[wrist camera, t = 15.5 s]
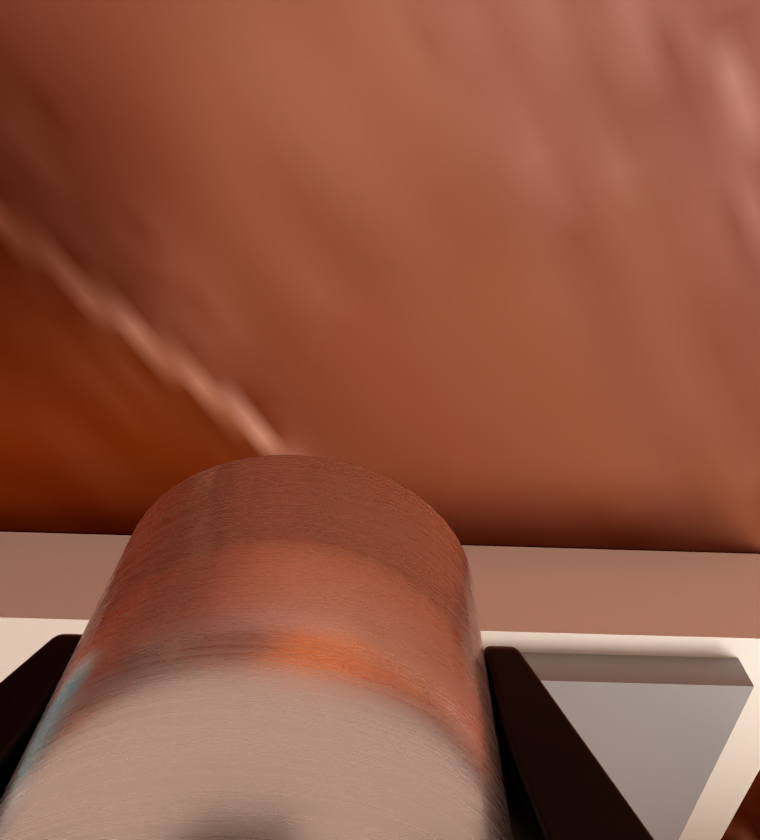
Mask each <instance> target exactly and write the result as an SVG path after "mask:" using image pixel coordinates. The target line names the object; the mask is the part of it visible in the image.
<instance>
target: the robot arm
mask: <svg viewBox="0 0 760 840" xmlns="http://www.w3.org/2000/svg"><path fill="white" fill-rule="evenodd" d="M81 636H82V634H60V635H57V636H55V637H53V638H52V639H51V640H50V641H48V642H47V643H46V644H45V645H44V646H43V647H41V648H40V649H39V650H38V651H37V652H36V653H34V654H33V655H32V656H31V657H30V658H29V659H27V660H26V661H25V662H24V663H23V664H21V665H20V666H19V667H18V668H17V669H16V670H14V671H13V672H12V673H11V674H10V675H9V676H7V677H6V678H5V679H4V680H3V681H2V682H0V800H1V798H2V796H3V794H4V792H5V789H6V787H7V785H8V783H9V781H10V779H11V777H12V775H13V773H14V771H15V769H16V767H17V765H18V763H19V761H20V759H21V757H22V755H23V753H24V751H25V749H26V747H27V745H28V743H29V741H30V739H31V737H32V735H33V733H34V731H35V729H36V727H37V725H38V723H39V721H40V719H41V717H42V715H43V713H44V711H45V709H46V707H47V705H48V703H49V701H50V699H51V697H52V695H53V693H54V691H55V689H56V687H57V685H58V683H59V681H60V679H61V677H62V675H63V673H64V671H65V669H66V667H67V665H68V663H69V661H70V659H71V657H72V655H73V652H74V650H75V648H76V646H77V644H78V642H79V640H80V638H81ZM484 658H485V664H486V670H487V677H488V683H489V689H490V696H491V702H492V708H493V715H494V721H495V727H496V734H497V740H498V746H499V753H500V759H501V765H502V772H503V778H504V784H505V791H506V797H507V803H508V810H509V816H510V822H511V829H512V835H513V840H654V838H653V837H652V836H651V834H650V833H649V831H648V830H647V829H646V827H645V826H644V824H643V823H642V822H641V820H640V819H639V817H638V816H637V815H636V813H635V812H634V811H633V809H632V808H631V806H630V805H629V804H628V802H627V801H626V799H625V798H624V797H623V795H622V794H621V792H620V791H619V790H618V788H617V787H616V785H615V784H614V783H613V781H612V780H611V778H610V777H609V776H608V774H607V773H606V771H605V770H604V769H603V767H602V766H601V764H600V763H599V762H598V760H597V759H596V757H595V756H594V755H593V753H592V752H591V750H590V749H589V748H588V746H587V745H586V744H585V742H584V741H583V739H582V738H581V737H580V735H579V734H578V732H577V731H576V730H575V728H574V727H573V725H572V724H571V723H570V721H569V720H568V718H567V717H566V716H565V714H564V713H563V711H562V710H561V709H560V707H559V706H558V704H557V703H556V702H555V700H554V699H553V697H552V696H551V695H550V693H549V692H548V690H547V689H546V688H545V686H544V685H543V683H542V682H541V681H540V679H539V678H538V676H537V675H536V674H535V672H534V671H533V670H532V668H531V667H530V665H529V664H528V663H527V661H526V660H525V658H524V657H523V656H522V654H521V653H520V652H519V650H518V649H516V648H514V647H511V646H488V647H486V648H485V649H484Z"/></svg>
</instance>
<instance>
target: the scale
mask: <svg viewBox="0 0 760 840" xmlns="http://www.w3.org/2000/svg"><path fill="white" fill-rule="evenodd" d="M131 536H132V535H98V534H64V533H30V532H0V682H2V681H3V680H4V679H5V678H6V677H7V676H9V675H10V674H11V673H12V672H13V671H14V670H16V669H17V668H18V667H19V666H20V665H21V664H23V663H24V662H25V661H26V660H27V659H29V658H30V657H31V656H32V655H33V654H34V653H36V652H37V651H38V650H39V649H40V648H41V647H43V646H44V645H45V644H46V643H47V642H48V641H50V640H51V639H52V638H53V637H55V636H57V635H60V634H83V632H84V630H85V628H86V626H87V624H88V622H89V620H90V618H91V616H92V614H93V612H94V610H95V608H96V606H97V604H98V602H99V600H100V598H101V596H102V594H103V592H104V590H105V588H106V586H107V584H108V582H109V580H110V578H111V576H112V574H113V572H114V570H115V568H116V566H117V564H118V562H119V560H120V558H121V556H122V554H123V552H124V550H125V548H126V546H127V544H128V542H129V540H130V538H131ZM461 546H462V548H463V550H464V552H465V554H466V557H467V560H468V563H469V567H470V570H471V575H472V582H473V588H474V594H475V601H476V607H477V613H478V620H479V626H480V632H481V639H482V645H483V651H484V649H485V648H486V647H488V646H511V647H514V648H516V649H518V650H519V652H520V653H521V654H522V656H523V657H524V658H525V660H526V661H527V663H528V664H529V665H530V667H531V668H532V670H533V671H534V672H535V674H536V675H537V676H538V678H539V679H540V681H541V682H542V683H543V685H544V686H545V688H546V689H547V690H548V692H549V693H550V695H551V696H552V697H553V699H554V700H555V702H556V703H557V704H558V706H559V707H560V709H561V710H562V711H563V713H564V714H565V716H566V717H567V718H568V720H569V721H570V723H571V724H572V725H573V727H574V728H575V730H576V731H577V732H578V734H579V735H580V737H581V738H582V739H583V741H584V742H585V744H586V745H587V746H588V748H589V749H590V750H591V752H592V753H593V755H594V756H595V757H596V759H597V760H598V762H599V763H600V764H601V766H602V767H603V769H604V770H605V771H606V773H607V774H608V776H609V777H610V778H611V780H612V781H613V783H614V784H615V785H616V787H617V788H618V790H619V791H620V792H621V794H622V795H623V797H624V798H625V799H626V801H627V802H628V804H629V805H630V806H631V808H632V809H633V811H634V812H635V813H636V815H637V816H638V817H639V819H640V820H641V822H642V823H643V824H644V826H645V827H646V829H647V830H648V831H649V833H650V834H651V836H652V837H653V838H654V840H721V838H722V837H723V835H724V833H725V831H726V829H727V828H728V826H729V824H730V822H731V820H732V819H733V817H734V815H735V813H736V811H737V809H738V808H739V806H740V804H741V802H742V800H743V799H744V797H745V795H746V793H747V791H748V790H749V788H750V786H751V784H752V782H753V781H754V779H755V777H756V775H757V773H758V772H759V770H760V554H744V553H710V552H676V551H642V550H608V549H574V548H540V547H506V546H472V545H461Z"/></svg>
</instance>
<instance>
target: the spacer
mask: <svg viewBox="0 0 760 840" xmlns="http://www.w3.org/2000/svg"><path fill="white" fill-rule="evenodd" d="M0 840H513V835H512V829H511V822H510V816H509V810H508V803H507V797H506V791H505V784H504V778H503V772H502V765H501V759H500V753H499V746H498V740H497V734H496V727H495V721H494V715H493V708H492V702H491V696H490V689H489V683H488V677H487V670H486V664H485V658H484V651H483V645H482V639H481V632H480V626H479V620H478V613H477V607H476V601H475V594H474V588H473V582H472V575H471V570H470V567H469V563H468V560H467V557H466V554H465V552H464V550H463V548H462V546H461V544H460V542H459V540H458V538H457V536H456V535H455V533H454V532H453V531H452V529H451V528H450V527H449V525H448V524H447V522H446V521H445V520H444V519H443V518H442V517H441V516H440V515H439V514H438V513H437V512H436V511H435V510H434V509H433V508H432V507H431V506H430V505H429V504H428V503H426V502H425V501H424V500H423V499H421V498H420V497H419V496H417V495H416V494H415V493H414V492H412V491H410V490H409V489H407V488H405V487H404V486H402V485H400V484H399V483H397V482H395V481H394V480H392V479H389V478H387V477H385V476H383V475H380V474H378V473H376V472H374V471H371V470H369V469H366V468H362V467H359V466H356V465H353V464H350V463H346V462H342V461H337V460H332V459H327V458H322V457H312V456H301V455H268V456H261V457H253V458H246V459H240V460H236V461H232V462H229V463H225V464H221V465H218V466H215V467H212V468H210V469H207V470H205V471H202V472H199V473H197V474H195V475H193V476H191V477H190V478H188V479H186V480H184V481H182V482H181V483H179V484H177V485H176V486H174V487H173V488H172V489H170V490H169V491H168V492H166V493H165V494H164V495H162V496H161V497H160V498H159V499H158V500H157V501H156V502H155V503H154V504H153V505H152V506H151V507H150V508H149V509H148V510H147V511H146V513H145V514H144V516H143V517H142V519H141V520H140V522H139V523H138V524H137V526H136V528H135V530H134V532H133V534H132V536H131V538H130V540H129V542H128V544H127V546H126V548H125V550H124V552H123V554H122V556H121V558H120V560H119V562H118V564H117V566H116V568H115V570H114V572H113V574H112V576H111V578H110V580H109V582H108V584H107V586H106V588H105V590H104V592H103V594H102V596H101V598H100V600H99V602H98V604H97V606H96V608H95V610H94V612H93V614H92V616H91V618H90V620H89V622H88V624H87V626H86V628H85V630H84V632H83V634H82V636H81V638H80V640H79V642H78V644H77V646H76V648H75V650H74V652H73V655H72V657H71V659H70V661H69V663H68V665H67V667H66V669H65V671H64V673H63V675H62V677H61V679H60V681H59V683H58V685H57V687H56V689H55V691H54V693H53V695H52V697H51V699H50V701H49V703H48V705H47V707H46V709H45V711H44V713H43V715H42V717H41V719H40V721H39V723H38V725H37V727H36V729H35V731H34V733H33V735H32V737H31V739H30V741H29V743H28V745H27V747H26V749H25V751H24V753H23V755H22V757H21V759H20V761H19V763H18V765H17V767H16V769H15V771H14V773H13V775H12V777H11V779H10V781H9V783H8V785H7V787H6V789H5V792H4V794H3V796H2V798H1V800H0Z"/></svg>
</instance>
